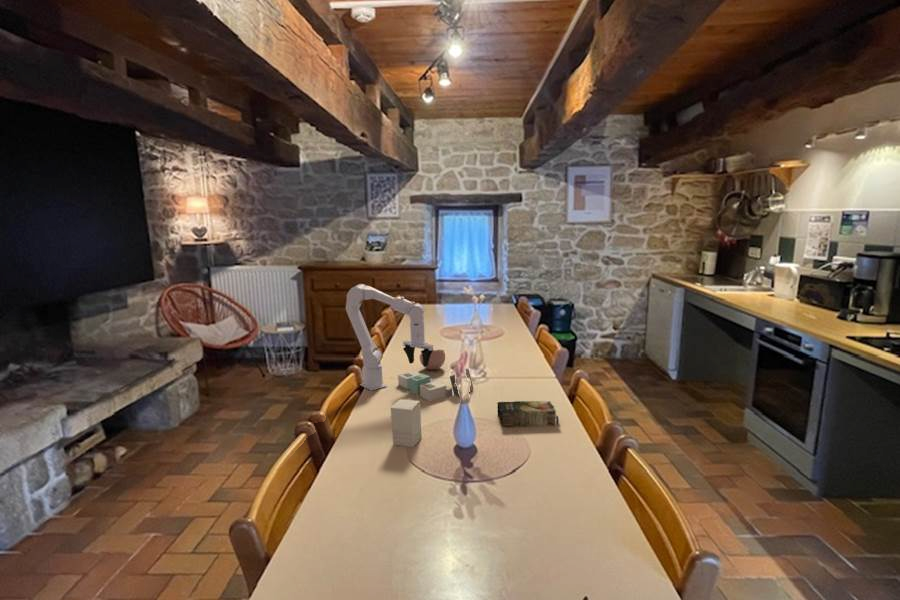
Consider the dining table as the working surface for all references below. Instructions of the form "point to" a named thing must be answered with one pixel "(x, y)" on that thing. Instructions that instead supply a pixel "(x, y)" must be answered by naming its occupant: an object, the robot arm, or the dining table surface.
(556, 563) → the dining table surface
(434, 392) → the rail mount
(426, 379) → the block
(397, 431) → the supplement box
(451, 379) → the electrical switch
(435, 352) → the reddish brown round piece
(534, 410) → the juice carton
